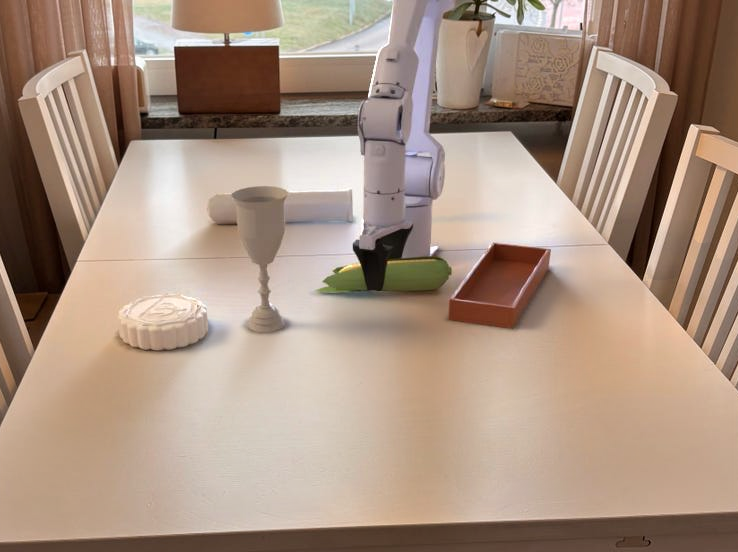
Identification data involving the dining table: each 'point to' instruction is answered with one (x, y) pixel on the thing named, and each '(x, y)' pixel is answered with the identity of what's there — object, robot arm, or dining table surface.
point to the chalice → (262, 243)
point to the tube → (292, 206)
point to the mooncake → (163, 322)
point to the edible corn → (393, 276)
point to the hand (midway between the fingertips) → (382, 281)
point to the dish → (500, 285)
